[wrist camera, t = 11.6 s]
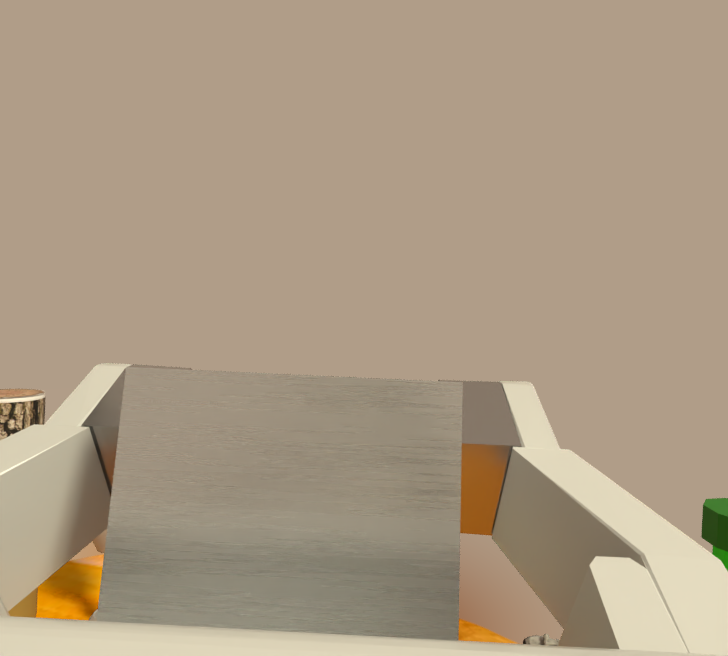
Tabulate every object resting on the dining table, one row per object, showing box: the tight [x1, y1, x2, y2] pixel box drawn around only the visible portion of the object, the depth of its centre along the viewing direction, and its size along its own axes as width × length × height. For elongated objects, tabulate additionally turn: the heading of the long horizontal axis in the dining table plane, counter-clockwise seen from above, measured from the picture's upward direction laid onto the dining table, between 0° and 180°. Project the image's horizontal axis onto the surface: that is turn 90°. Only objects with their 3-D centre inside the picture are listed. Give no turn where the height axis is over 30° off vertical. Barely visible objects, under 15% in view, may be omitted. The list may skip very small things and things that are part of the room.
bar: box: [97, 367, 463, 641], centre depth 22 cm, size 32×4×4 cm, turn 179°
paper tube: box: [0, 389, 45, 618], centre depth 55 cm, size 7×7×25 cm
